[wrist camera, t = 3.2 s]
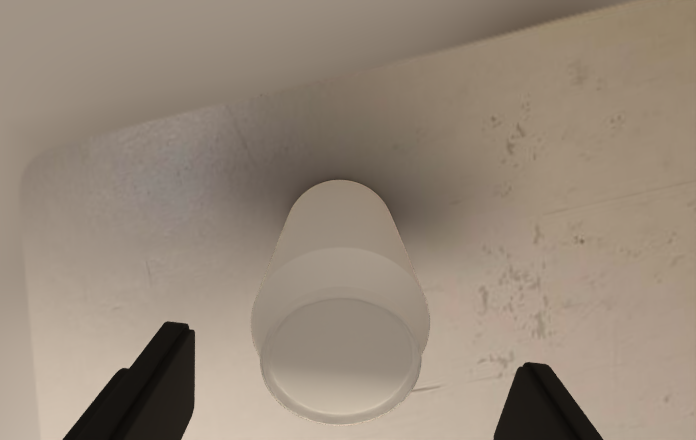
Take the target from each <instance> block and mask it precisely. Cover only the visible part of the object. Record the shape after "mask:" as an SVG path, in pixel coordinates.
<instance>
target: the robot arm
mask: <svg viewBox="0 0 696 440" xmlns="http://www.w3.org/2000/svg"><path fill="white" fill-rule="evenodd" d="M194 391H195V332H194V330H190V329H189V326H188V324H185V323H176V322H165V323H164V324H163V325H162V327H161V328H160V329H159V331H158V332H157V333H156V334H155V336H154V337H153V338H152V340H151V341H150V342H149V344H148V345H147V346H146V347H145V349H144V350H143V351H142V353H141V354H140V355H139V357H138V358H137V359H136V361H135V362H134V363H133V364H132V366H131V367H130V368H129V369H127V368H122V369H120V370H119V371H118V372H117V373H116V374H115V375H114V376H113V377H112V379H111V380H110V381H109V382H108V384H107V385H106V386H105V387H104V388H103V390H102V391H101V392H100V393H99V395H98V396H97V397H96V398H95V400H94V401H93V402H92V403H91V405H90V406H89V407H88V408H87V410H86V411H85V412H84V413H83V415H82V416H81V417H80V418H79V420H78V421H77V422H76V423H75V425H74V426H73V427H72V428H71V430H70V431H69V432H68V433H67V435H66V436H65V437H64V438H63V440H181V439H182V436H183V434H184V432H185V430H186V428H187V426H188V424H189V421H190V419H191V417H192V414H193V410H194ZM494 440H603V438H602V437H601V436H600V434H599V433H598V432H597V430H596V429H595V427H594V426H593V425H592V423H591V422H590V421H589V419H588V418H587V417H586V415H585V414H584V412H583V411H582V410H581V408H580V407H579V406H578V404H577V403H576V402H575V400H574V399H573V397H572V396H571V395H570V393H569V392H568V391H567V389H566V388H565V387H564V385H563V384H562V382H561V381H560V380H559V378H558V377H557V376H556V374H555V373H554V372H553V370H552V369H551V368H550V367H549V366H548V365H546V364H540V363H531V362H526V363H525V364H524V365H523V367H519V368H518V369H517V372H516V375H515V377H514V380H513V383H512V386H511V389H510V391H509V394H508V397H507V400H506V403H505V405H504V408H503V411H502V414H501V417H500V419H499V422H498V425H497V428H496V431H495V433H494Z"/></svg>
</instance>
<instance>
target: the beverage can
mask: <svg viewBox="0 0 696 440" xmlns="http://www.w3.org/2000/svg"><path fill="white" fill-rule="evenodd" d="M429 330H430V315H429V309H428V305H427V302H426V299H425V296H424V294H423V291H422V289H421V286H420V284H419V281H418V279H417V276H416V274H415V272H414V269H413V267H412V264H411V262H410V259H409V257H408V255H407V252H406V250H405V247H404V245H403V242H402V240H401V238H400V235H399V233H398V230H397V228H396V226H395V223H394V221H393V218H392V216H391V214H390V212H389V210H388V208H387V206H386V204H385V203H384V202H383V200H382V199H381V198H380V197H379V196H378V195H377V194H376V193H375V192H374V191H372V190H371V189H369V188H368V187H366V186H364V185H362V184H360V183H357V182H353V181H348V180H331V181H326V182H323V183H320V184H317V185H315V186H313V187H312V188H310V189H308V190H307V191H306V192H305V193H303V194H302V195H301V196H300V197H299V198H298V200H297V201H296V202H295V204H294V205H293V207H292V209H291V211H290V213H289V215H288V217H287V220H286V222H285V225H284V227H283V230H282V232H281V235H280V237H279V240H278V242H277V245H276V248H275V250H274V253H273V255H272V258H271V261H270V263H269V266H268V268H267V271H266V273H265V276H264V279H263V281H262V284H261V286H260V289H259V292H258V294H257V297H256V300H255V302H254V306H253V310H252V315H251V333H252V339H253V343H254V346H255V348H256V351H257V353H258V355H259V357H260V366H261V372H262V376H263V379H264V382H265V384H266V386H267V388H268V390H269V391H270V393H271V394H272V396H273V397H274V398H275V399H276V400H277V401H278V402H279V403H280V404H281V405H282V406H283V407H284V408H286V409H287V410H289V411H290V412H292V413H293V414H295V415H297V416H299V417H301V418H303V419H306V420H309V421H312V422H315V423H319V424H325V425H335V426H345V425H355V424H360V423H364V422H368V421H371V420H374V419H376V418H379V417H381V416H383V415H385V414H387V413H388V412H390V411H391V410H393V409H394V408H396V407H397V406H398V405H399V404H400V403H401V402H403V401H404V399H405V398H406V397H407V396H408V395H409V394H410V392H411V391H412V389H413V388H414V386H415V384H416V382H417V379H418V377H419V373H420V369H421V355H422V353H423V351H424V349H425V346H426V343H427V340H428V336H429Z"/></svg>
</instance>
